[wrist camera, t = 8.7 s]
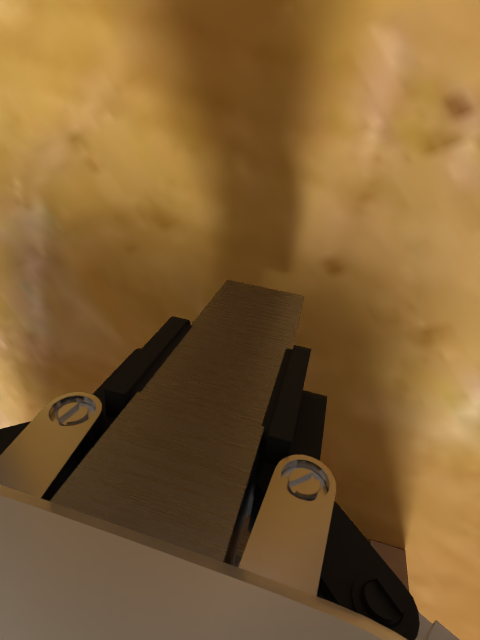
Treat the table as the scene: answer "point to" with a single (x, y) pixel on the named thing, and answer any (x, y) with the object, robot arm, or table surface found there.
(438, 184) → the table surface
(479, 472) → the table surface
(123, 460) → the hoe
